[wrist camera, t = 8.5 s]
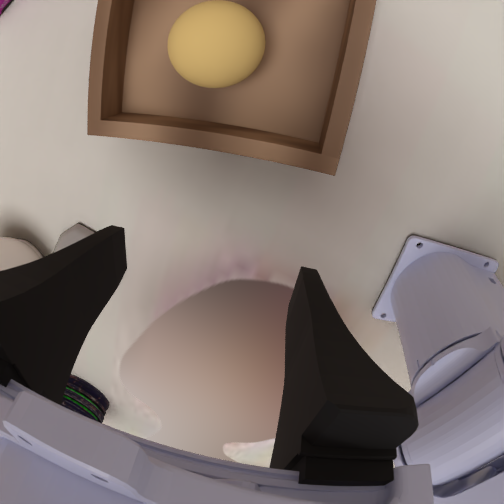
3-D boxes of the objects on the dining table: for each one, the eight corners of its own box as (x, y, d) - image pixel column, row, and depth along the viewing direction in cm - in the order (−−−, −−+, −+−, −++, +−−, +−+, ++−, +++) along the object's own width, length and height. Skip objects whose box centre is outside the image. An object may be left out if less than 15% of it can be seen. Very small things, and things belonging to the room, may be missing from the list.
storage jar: (60, 364, 39) (17, 442, 27) (116, 398, 41) (81, 480, 29) (56, 384, 44) (21, 451, 32) (103, 414, 47) (74, 483, 34)
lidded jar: (82, 282, 28) (32, 350, 21) (43, 311, 33) (4, 366, 25) (16, 200, 24) (-50, 253, 16) (-11, 246, 29) (-59, 294, 21)
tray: (369, -16, 12) (381, -28, 10) (329, 160, 19) (334, 175, 17) (131, -36, 13) (107, -46, 10) (111, 124, 20) (87, 134, 17)
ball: (273, 12, 14) (269, -6, 10) (261, 90, 17) (254, 97, 13) (188, 7, 14) (159, -9, 10) (179, 82, 17) (148, 89, 13)
